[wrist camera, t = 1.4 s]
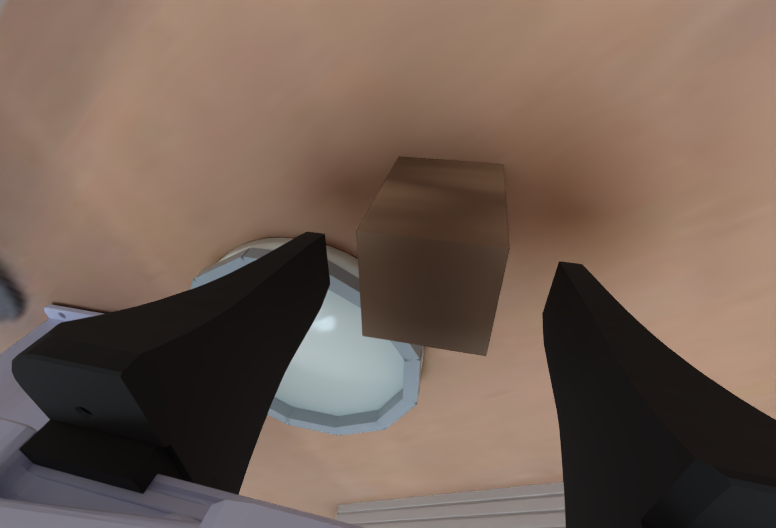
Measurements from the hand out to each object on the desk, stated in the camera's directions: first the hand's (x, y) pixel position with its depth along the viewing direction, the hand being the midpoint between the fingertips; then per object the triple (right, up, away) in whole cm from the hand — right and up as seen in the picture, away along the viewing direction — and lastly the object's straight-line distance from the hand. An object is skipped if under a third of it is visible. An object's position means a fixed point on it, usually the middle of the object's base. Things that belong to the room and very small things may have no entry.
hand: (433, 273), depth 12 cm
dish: (-6, -4, +10) cm, 12 cm away
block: (+1, +3, +4) cm, 5 cm away
